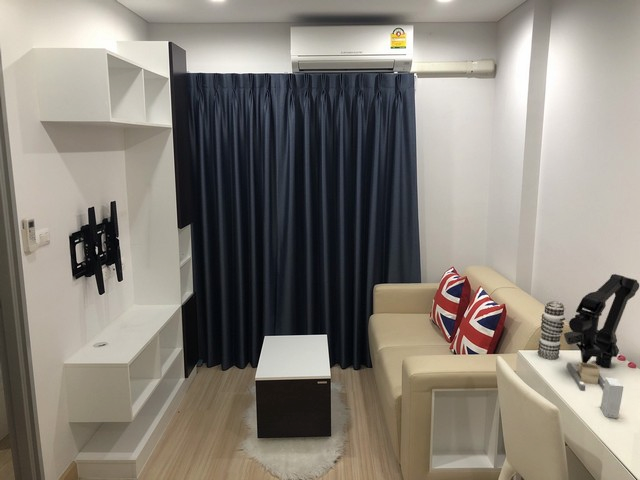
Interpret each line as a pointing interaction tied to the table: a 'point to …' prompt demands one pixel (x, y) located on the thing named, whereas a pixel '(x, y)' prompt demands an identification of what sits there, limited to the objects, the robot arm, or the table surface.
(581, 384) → the chute
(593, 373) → the block
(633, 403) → the table surface
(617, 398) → the skincare box
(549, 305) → the banded tower model
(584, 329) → the robot arm
